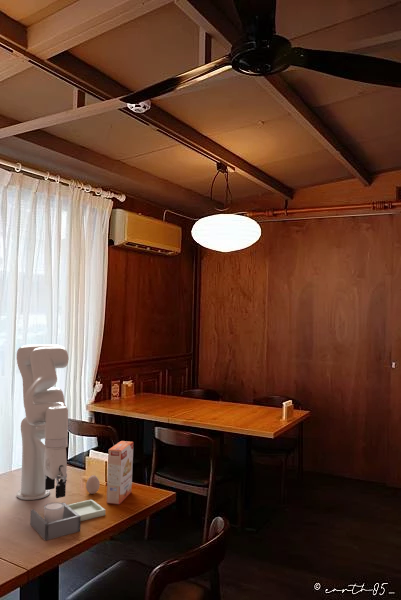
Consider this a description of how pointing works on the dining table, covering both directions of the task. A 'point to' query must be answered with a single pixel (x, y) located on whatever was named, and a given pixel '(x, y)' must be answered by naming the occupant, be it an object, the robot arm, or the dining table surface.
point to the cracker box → (119, 472)
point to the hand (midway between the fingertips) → (55, 493)
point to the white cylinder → (53, 512)
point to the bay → (56, 524)
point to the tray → (87, 509)
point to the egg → (92, 484)
